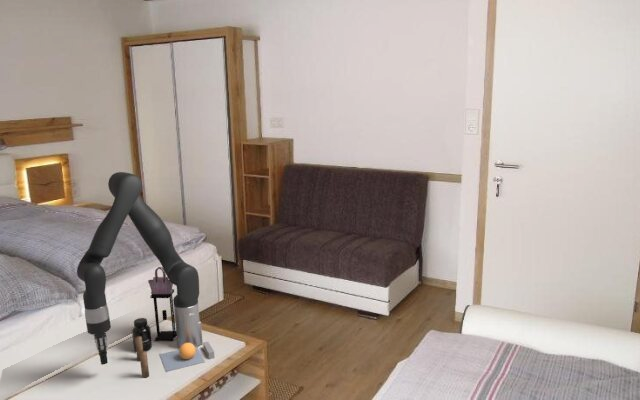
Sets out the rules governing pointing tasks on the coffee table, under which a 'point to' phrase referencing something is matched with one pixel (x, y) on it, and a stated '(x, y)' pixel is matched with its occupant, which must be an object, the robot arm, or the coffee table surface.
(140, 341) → the post
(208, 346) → the wall
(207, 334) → the coffee table surface
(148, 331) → the supplement bottle
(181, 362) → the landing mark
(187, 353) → the ball
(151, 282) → the handbag on black stand
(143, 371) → the post
